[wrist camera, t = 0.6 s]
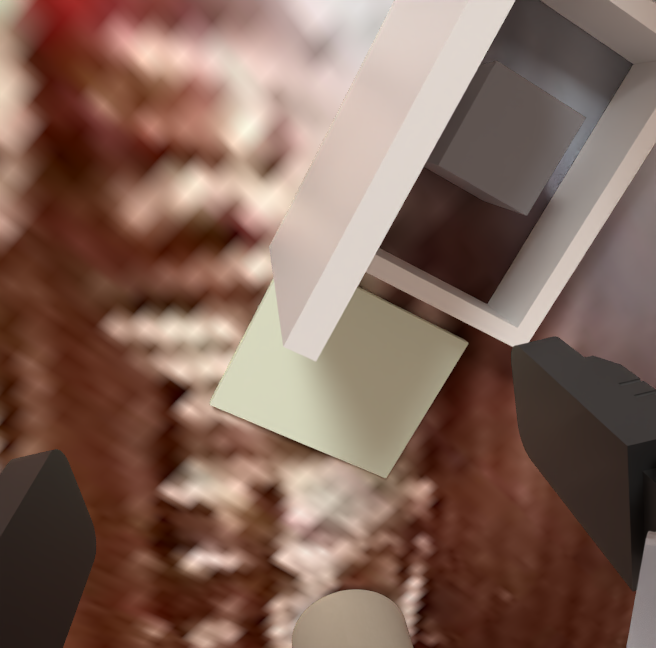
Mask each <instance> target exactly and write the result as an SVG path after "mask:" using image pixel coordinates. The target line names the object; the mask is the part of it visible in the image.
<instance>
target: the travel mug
mask: <svg viewBox="0 0 656 648" xmlns="http://www.w3.org/2000/svg"><path fill="white" fill-rule="evenodd" d="M292 648H413V645H412V642H411V638H410V635H409V632H408V628H407V625H406V622H405V619H404V616H403V614H402V612H401V610H400V609H399V608H398V606H397V605H396V604H395V603H394V602H392V601H391V600H390V599H388V598H387V597H385V596H383V595H381V594H379V593H376V592H373V591H368V590H358V589H354V590H344V591H339V592H336V593H332V594H330V595H327V596H325V597H323V598H321V599H319V600H318V601H316V602H315V603H313V604H312V605H311V606H310V607H308V608H307V609H306V610H305V611H304V613H303V614H302V615H301V616H300V618H299V619H298V621H297V623H296V625H295V628H294V631H293V635H292Z"/></svg>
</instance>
